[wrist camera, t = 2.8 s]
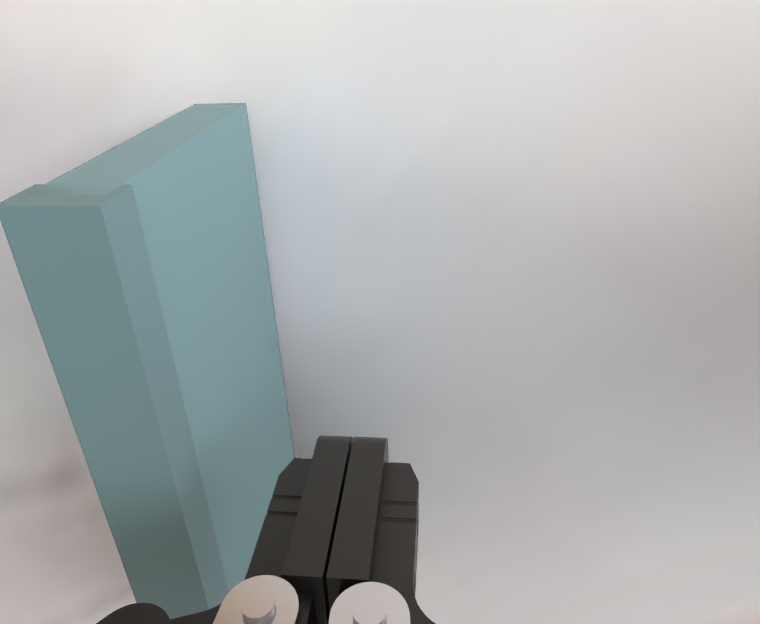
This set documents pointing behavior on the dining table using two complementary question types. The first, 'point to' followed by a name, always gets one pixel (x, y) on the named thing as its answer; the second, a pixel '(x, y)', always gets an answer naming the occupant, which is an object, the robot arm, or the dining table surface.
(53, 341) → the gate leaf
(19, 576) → the dining table surface
